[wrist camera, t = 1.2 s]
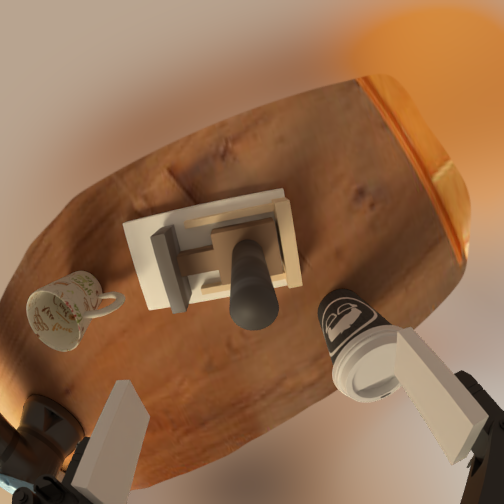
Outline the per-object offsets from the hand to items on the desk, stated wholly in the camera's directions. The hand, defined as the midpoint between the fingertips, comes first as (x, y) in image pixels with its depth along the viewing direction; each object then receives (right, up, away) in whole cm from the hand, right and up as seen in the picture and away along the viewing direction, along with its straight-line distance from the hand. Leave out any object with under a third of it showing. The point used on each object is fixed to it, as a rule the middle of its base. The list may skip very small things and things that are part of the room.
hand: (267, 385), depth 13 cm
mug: (-23, +1, +25) cm, 34 cm away
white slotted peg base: (-6, +6, +24) cm, 26 cm away
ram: (-4, +6, +23) cm, 24 cm away
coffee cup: (+12, -2, +28) cm, 30 cm away
